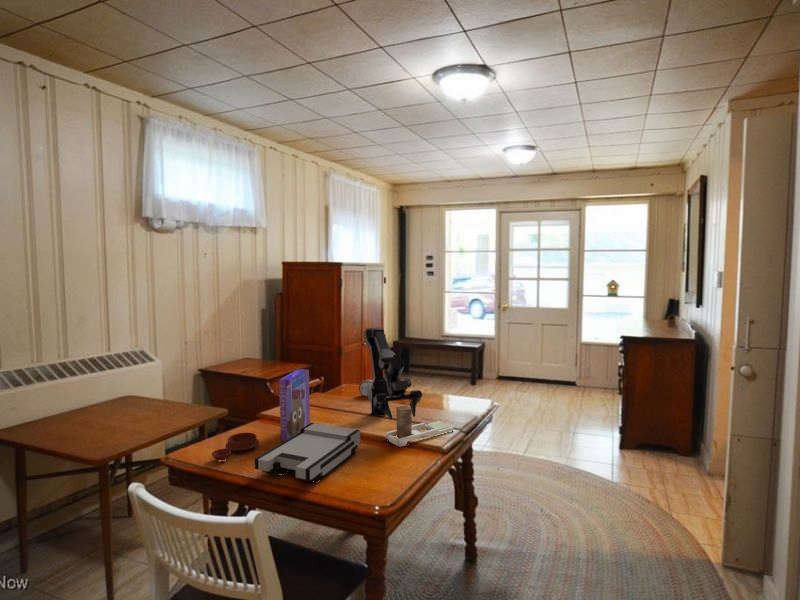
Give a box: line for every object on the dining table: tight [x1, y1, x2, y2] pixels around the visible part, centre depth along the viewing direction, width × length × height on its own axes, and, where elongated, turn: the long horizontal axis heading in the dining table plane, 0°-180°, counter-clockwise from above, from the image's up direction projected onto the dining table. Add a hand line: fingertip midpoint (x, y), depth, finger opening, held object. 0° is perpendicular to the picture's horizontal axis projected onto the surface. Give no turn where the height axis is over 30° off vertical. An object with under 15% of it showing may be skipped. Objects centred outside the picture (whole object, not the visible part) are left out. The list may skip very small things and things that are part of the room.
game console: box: [253, 422, 361, 483], centre depth 164 cm, size 21×32×8 cm, turn 157°
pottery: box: [211, 432, 260, 461], centre depth 174 cm, size 12×20×4 cm, turn 159°
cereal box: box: [278, 368, 311, 442], centre depth 192 cm, size 17×5×24 cm, turn 168°
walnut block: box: [395, 405, 413, 439], centre depth 184 cm, size 4×4×12 cm
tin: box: [358, 379, 373, 398], centre depth 243 cm, size 15×3×8 cm, turn 84°
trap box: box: [385, 420, 455, 448], centre depth 189 cm, size 26×9×3 cm, turn 125°
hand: (403, 418), depth 184 cm, fingers open, 9 cm apart
